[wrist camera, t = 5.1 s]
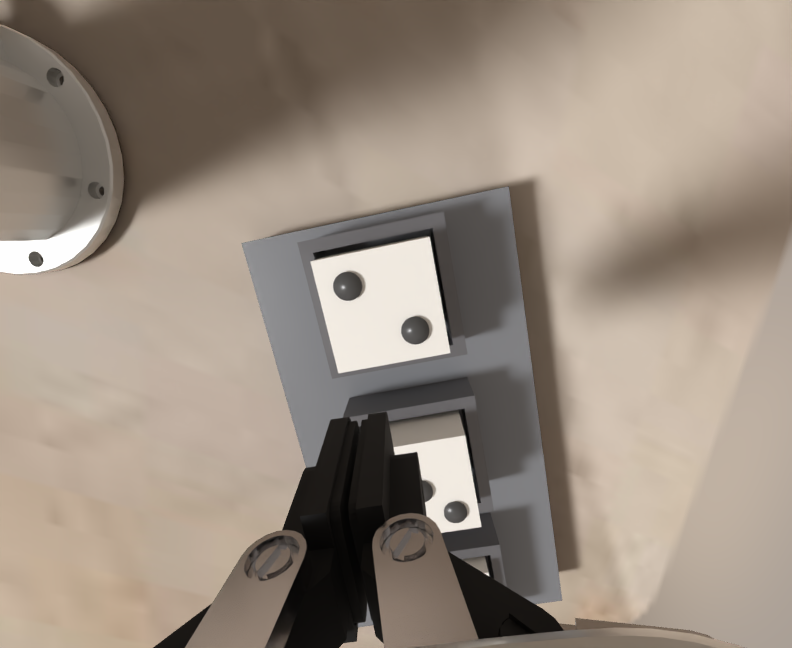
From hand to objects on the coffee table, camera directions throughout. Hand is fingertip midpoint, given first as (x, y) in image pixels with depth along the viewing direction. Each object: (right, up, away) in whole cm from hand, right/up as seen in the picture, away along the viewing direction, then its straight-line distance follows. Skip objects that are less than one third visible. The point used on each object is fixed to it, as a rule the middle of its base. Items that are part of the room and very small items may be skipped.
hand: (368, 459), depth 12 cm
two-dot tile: (0, +5, +8) cm, 10 cm away
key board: (+2, -2, +13) cm, 14 cm away
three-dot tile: (+2, -3, +10) cm, 11 cm away
